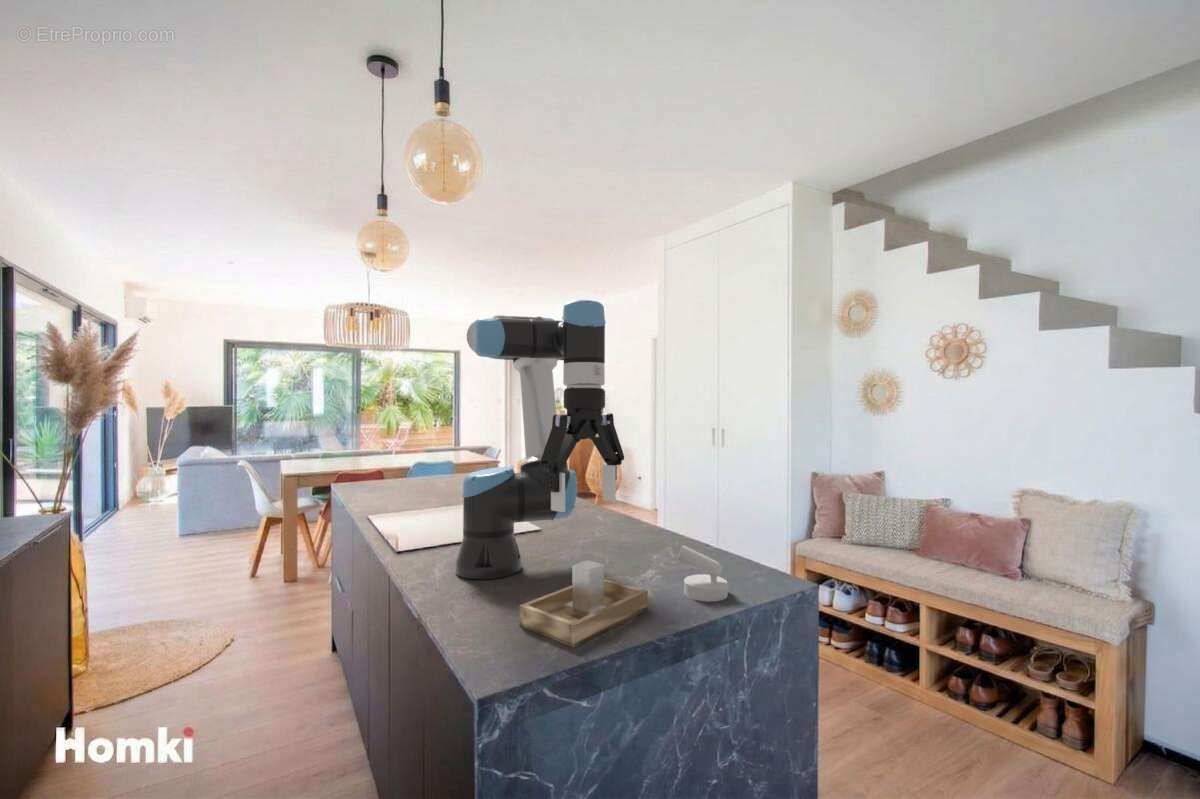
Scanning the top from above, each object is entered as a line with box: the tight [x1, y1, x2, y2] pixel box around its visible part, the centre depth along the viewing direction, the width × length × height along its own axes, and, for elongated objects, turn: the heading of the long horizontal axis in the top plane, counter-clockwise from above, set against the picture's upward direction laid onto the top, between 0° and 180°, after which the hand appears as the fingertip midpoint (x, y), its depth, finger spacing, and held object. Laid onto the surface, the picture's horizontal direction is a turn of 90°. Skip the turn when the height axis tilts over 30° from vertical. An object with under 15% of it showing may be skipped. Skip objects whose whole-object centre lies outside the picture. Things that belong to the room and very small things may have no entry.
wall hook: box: [676, 544, 729, 603], centre depth 106 cm, size 9×10×10 cm
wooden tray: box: [518, 578, 649, 649], centre depth 95 cm, size 13×20×4 cm, turn 139°
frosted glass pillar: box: [565, 559, 605, 619], centre depth 94 cm, size 8×4×9 cm, turn 49°
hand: (584, 504), depth 95 cm, fingers open, 13 cm apart
